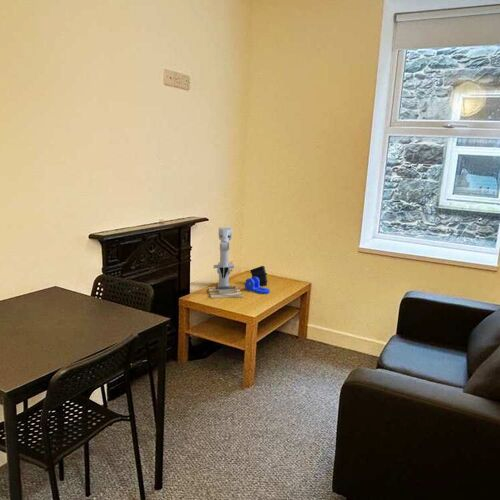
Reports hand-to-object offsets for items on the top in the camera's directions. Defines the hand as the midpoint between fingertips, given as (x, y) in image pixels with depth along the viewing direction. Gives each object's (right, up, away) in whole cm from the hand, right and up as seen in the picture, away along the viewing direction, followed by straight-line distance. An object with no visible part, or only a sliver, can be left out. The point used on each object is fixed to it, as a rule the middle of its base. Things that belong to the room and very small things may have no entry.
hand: (223, 277), depth 315 cm
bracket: (+25, -10, +8) cm, 28 cm away
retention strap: (+2, -8, -1) cm, 8 cm away
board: (+1, -11, -1) cm, 11 cm away
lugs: (+1, -10, -1) cm, 10 cm away
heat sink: (+1, -10, -1) cm, 10 cm away
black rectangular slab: (+25, -7, +24) cm, 35 cm away
